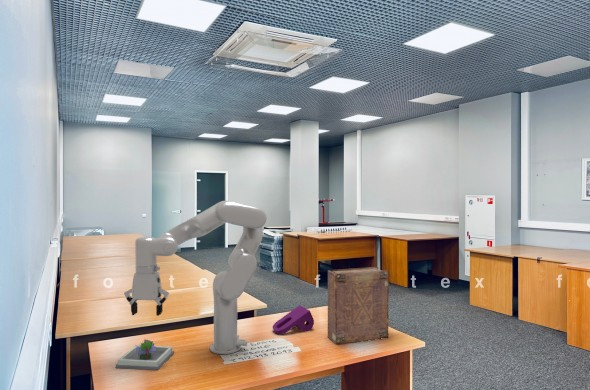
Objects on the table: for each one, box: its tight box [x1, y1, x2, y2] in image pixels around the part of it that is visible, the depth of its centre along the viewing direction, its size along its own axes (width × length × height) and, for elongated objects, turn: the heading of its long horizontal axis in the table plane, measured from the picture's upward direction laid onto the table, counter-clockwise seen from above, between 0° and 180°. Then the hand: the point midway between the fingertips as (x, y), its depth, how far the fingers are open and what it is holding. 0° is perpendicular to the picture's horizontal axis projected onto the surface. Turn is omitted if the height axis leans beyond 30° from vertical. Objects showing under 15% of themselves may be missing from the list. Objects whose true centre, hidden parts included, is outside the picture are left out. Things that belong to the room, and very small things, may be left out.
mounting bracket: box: [272, 305, 315, 335], centre depth 189 cm, size 9×8×18 cm
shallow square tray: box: [115, 344, 175, 371], centre depth 154 cm, size 16×15×3 cm
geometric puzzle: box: [136, 338, 157, 359], centre depth 154 cm, size 7×7×8 cm
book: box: [327, 266, 390, 345], centre depth 179 cm, size 25×9×30 cm, turn 108°
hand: (146, 314), depth 154 cm, fingers open, 9 cm apart
